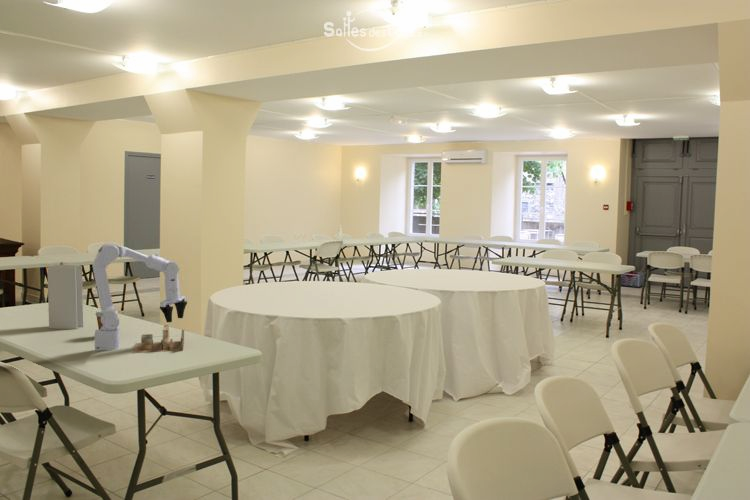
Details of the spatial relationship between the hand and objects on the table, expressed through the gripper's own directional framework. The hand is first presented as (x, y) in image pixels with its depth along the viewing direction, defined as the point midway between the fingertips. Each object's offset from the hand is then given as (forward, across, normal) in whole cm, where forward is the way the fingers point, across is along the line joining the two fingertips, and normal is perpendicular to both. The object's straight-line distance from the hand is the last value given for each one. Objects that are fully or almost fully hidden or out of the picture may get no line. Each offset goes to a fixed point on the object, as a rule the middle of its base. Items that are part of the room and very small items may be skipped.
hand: (174, 320), depth 272 cm
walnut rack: (+10, -11, +1) cm, 15 cm away
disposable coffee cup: (+9, -1, +38) cm, 39 cm away
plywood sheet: (+9, -9, -2) cm, 13 cm away
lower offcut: (+9, -14, +4) cm, 17 cm away
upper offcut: (+6, -14, +4) cm, 16 cm away
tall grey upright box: (+8, +8, +71) cm, 72 cm away
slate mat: (+10, +3, +10) cm, 15 cm away
